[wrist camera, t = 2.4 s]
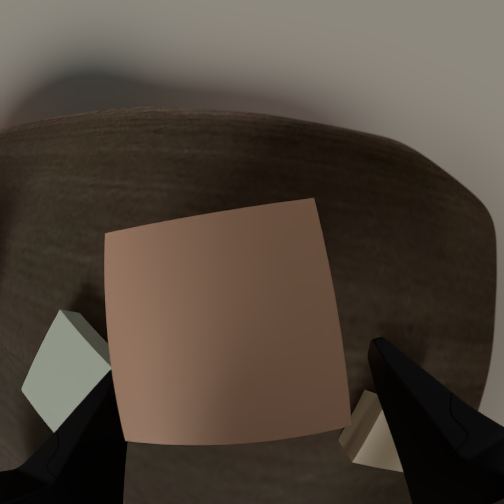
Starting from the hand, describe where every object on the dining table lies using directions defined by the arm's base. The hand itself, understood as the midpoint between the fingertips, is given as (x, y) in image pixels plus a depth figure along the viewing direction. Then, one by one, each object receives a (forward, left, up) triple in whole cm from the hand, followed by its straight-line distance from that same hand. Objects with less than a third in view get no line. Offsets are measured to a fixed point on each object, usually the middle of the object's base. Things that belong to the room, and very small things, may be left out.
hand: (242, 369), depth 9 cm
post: (+1, -1, -9) cm, 9 cm away
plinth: (+8, +11, -9) cm, 16 cm away
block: (-10, 0, -9) cm, 14 cm away
